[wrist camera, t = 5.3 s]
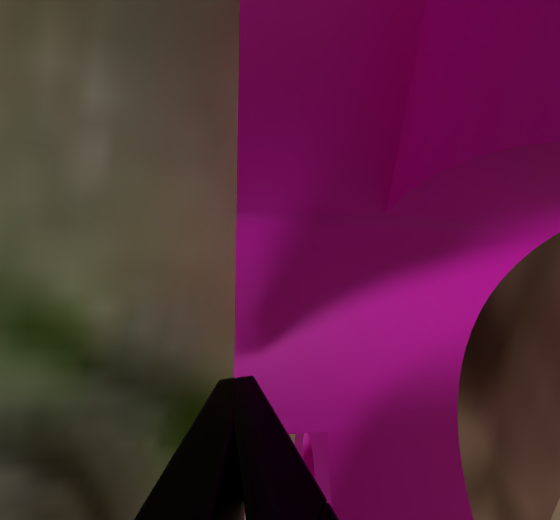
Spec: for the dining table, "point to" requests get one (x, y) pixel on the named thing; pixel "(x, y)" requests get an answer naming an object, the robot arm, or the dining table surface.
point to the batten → (514, 395)
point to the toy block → (386, 223)
